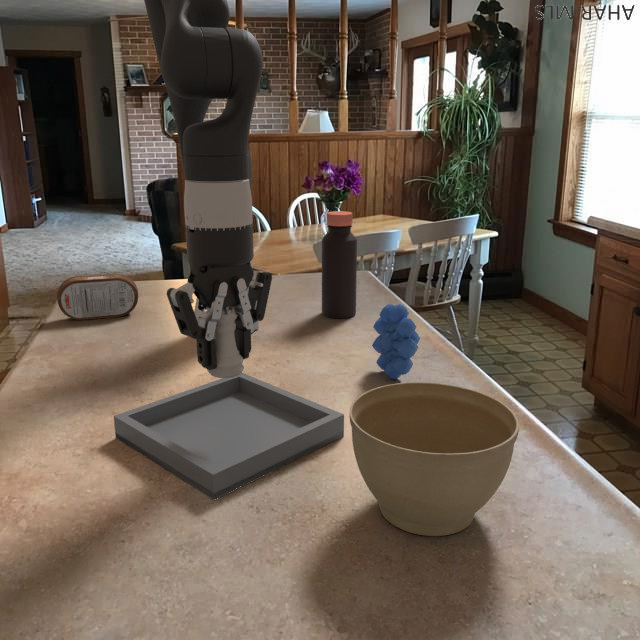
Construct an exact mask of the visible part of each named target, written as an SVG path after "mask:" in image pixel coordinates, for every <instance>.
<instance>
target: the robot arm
mask: <svg viewBox="0 0 640 640" xmlns="http://www.w3.org/2000/svg"><path fill="white" fill-rule="evenodd" d="M143 2H144V4H145V5H144V6H145V9H146V13H147V19H148V23H149V27H150V28H149V29H150V31H151V32H150V33H151V37H152V41H153V45H154V49H155V53H156V57H157V60H158V64H159V65H158V66H159V69H160V71H161V76H162V80H163V82H164V85H165V89H166V91H167V95H168V99H169V103H170V107H171V110H172V113H173V114H172V115H173V119H174V123H175V128H176V134H177V138H178V145H179V151H180V155H181V162H182V167H183V173H184V179H185V180H184V194H183V209H184V221H185V222H184V225H185V240H186V241H185V243H186V258H187V261H188V264H189V267H190V270H189V275H188V277H187V282H185V283H184V284H183V285H181V286H179V287H178V288H175V287H170V288H168V289H167V291H166V297H167V300H168V302H169V305H170V308H171V310H172V313H173V316H174V320H175V322H176V324H177V327H178V330H179V333H180V334H181V335H183V336H186V337H189V338H191V339H194V340H195V341H196V352H197V353H196V354H197V362H198V364H200V366H202V368H204V369H206V370H207V369H208V370H213V369H216V368H217V359H216V340H215V339H214V334H215V328H216V323H217V321H219V320H220V317H221V312H222V310H223V309H224V308H226V307H227V309H229V306H230V307H233V308H234V312H235V313H236V314H237V318H236V319H235V321H234V326H235V327H236V329H235V330H234V334H235V341H236V346H237V349H238V351H239V354H240V355H241V356H242V357H243V360H247V359H249V357H250V354H251V352H252V333H254V331H255V330H258V329H259V328H260V327H259V322H262V321H263V320H264V318H265V316H266V315H265V314H266V310H267V305H268V299H269V295H270V291H271V285H272V282H273V281H272V279H273V275H272V273H270V272H268V271H264V270H260V269H254V267H253V259H254V226H253V225H254V223H253V221H254V220H253V198H252V189H253V188H252V186H253V185H252V184H253V183H252V182H253V180H252V179H253V171H252V170H253V167H252V159H251V158H252V157H251V153H250V151H249V137H250V128H251V123H252V117H253V112H254V107H255V105H256V104H255V103H256V99H257V96H258V92H259V88H260V83H261V79H262V73H263V68H264V67H263V65H264V62H263V60H264V59H263V57H264V56H263V52H262V50H261V46H260V44H259V42H258V40H257V39H256V37H255V36H254V35H253V34H252V33H251V32H250V31H249V30H246V29H242V28H234V27H230V28H229V27H228V26H229V23H230V8H229V3H228V0H144V1H143ZM214 99H215V100H221V99H223V100H225V99H226V103H225V104H226V105H225V107H224V109H223V111H222V113H221V114H220V115H219V116H218V117H215V118H213V119H211V120H205V118H206V114H207V112H208V109H209V107H210V105H211V103H212V101H213V100H214ZM193 295H194V296H195V297H196V299H195V300H196V301H195V300H194V299H193ZM194 302H195V304H194ZM192 304H194V306H193V305H192Z"/></svg>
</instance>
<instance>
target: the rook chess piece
mask: <svg viewBox="0 0 640 640" xmlns="http://www.w3.org/2000/svg"><path fill="white" fill-rule="evenodd" d="M236 318H237V314H236V313H235V312H234V308H233V307H230V306H229V309H227V307H226V308H224V309H223V310H222V312H221V317H220V320H219V321H217V323H216V328H215V334H214V338H213V339H215V340H216V359H217V368H216V369H213V370H208V369H206V370H207V372H208V373H209V375H210V376H212V377H214V378H218V379H222V378H230V377H235V376H238V375H239V374H241V373H243V372H244V370H245V366H244V365H243V363H244V359H243V357H242V356H241V355H240V354H239V351H238V349H237V346H236V341H235V334H234V330H235V329H236V327H235V326H234V321H235V319H236Z"/></svg>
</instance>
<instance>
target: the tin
mask: <svg viewBox="0 0 640 640" xmlns="http://www.w3.org/2000/svg"><path fill="white" fill-rule="evenodd" d="M56 298H57V305H58V307H59V309H60V311H61V312H62V313H63V315H65V316H66V317H68V318H70V319H72V320H75V321H76V320H77V321H86V320H96V319H109V318H110V319H111V318H120V317H125V316H127V315H129V314H130V313H132V312H133V311H134V309H135V308H136V306H137V304H138V301H139V289H138V287H137V285H136V283H135V280H133V279H132V278H130V277H129V276H128V275H125V274H121V273H107V274H89V275H87V274H86V275H74V276H71V277H69V278H67V279H65V280H63V282H62V283H61V284H60V286H59V287H58V289H57V293H56Z"/></svg>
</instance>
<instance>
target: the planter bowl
mask: <svg viewBox="0 0 640 640" xmlns="http://www.w3.org/2000/svg"><path fill="white" fill-rule="evenodd" d="M349 423H350V426H351V440H352V441H351V442H352V447H353V453H354V457H355V460H356V464H357V468H358V470H359V472H360V474H361V476H362V477H361V478H362V479H363V481H364V482H365V485H366V487H367V488H368V489H369V491H370V493H371V495H373V497H374V499H375V500H376V501H377V502H378V506H379V511H380V513H381V515H382V516H383V517H384V518H385V519H386V521H388V522H389V523H391V524H392V526H394V527H396V528H398V529H401V530H402V531H405V532H408V533H411V534H415V535H419V536H426V537H427V536H428V537H441V536H442V537H443V536H449V535H453V534H456V533H459V532H461V531H463V530H465V529H466V528H468V527H469V526H470V525H471V524H472V522H473V520H474V519H475V516H476V513H477V512H478V511H480V510H481V509H482V508H483V507H484V506H485V505H486V504H487V503H488V502H489V501H490V500H491V498H493V496H494V495H495V494H496V492H497V490H498V489H499V487H500V486H501V485H502V483H503V481H504V480H505V477H506V475H507V472H508V470H509V468H510V465H511V461H512V458H513V453H514V449H515V448H514V447H515V443H516V441H517V439H518V436H519V431H520V422H519V420H518V416H517V415H516V414H515V412H514V411H513V410H512V409H511V408H510V407H509V406H507V404H505V403H504V402H502V401H501V400H499V399H496V398H495V397H493V396H491V395H489V394H487V393H484V392H481V391H477V390H475V389H471V388H467V387H463V386H458V385H454V384H453V385H452V384H446V383H440V382H427V381H426V382H425V381H410V382H408V381H407V382H399V383H392V384H386V385H382V386H378V387H375V388H372V389H369V390H367V391H365V392H362V394H360V395H359V396H357V397H356V398H355V399H354V400H353V402H352V403H351V405H350V407H349Z"/></svg>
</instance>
